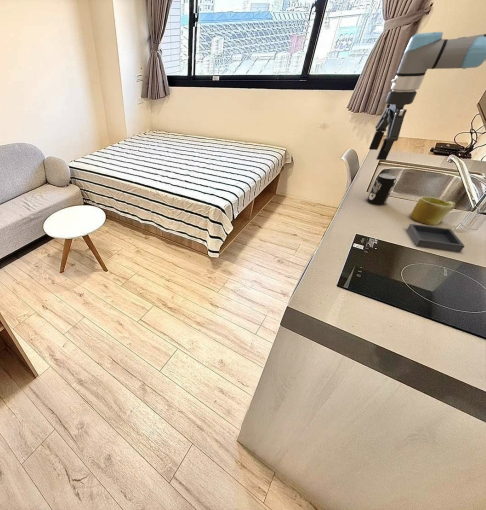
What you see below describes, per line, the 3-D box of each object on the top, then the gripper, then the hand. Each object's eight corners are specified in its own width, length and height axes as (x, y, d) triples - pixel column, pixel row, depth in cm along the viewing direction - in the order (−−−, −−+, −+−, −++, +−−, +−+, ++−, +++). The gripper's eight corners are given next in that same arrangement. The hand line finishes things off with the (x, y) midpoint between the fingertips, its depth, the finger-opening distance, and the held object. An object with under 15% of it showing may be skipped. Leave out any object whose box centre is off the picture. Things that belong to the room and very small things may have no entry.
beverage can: (362, 200, 120) (374, 173, 113) (376, 199, 121) (389, 172, 114) (373, 207, 115) (386, 179, 108) (388, 205, 116) (402, 177, 108)
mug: (420, 223, 99) (435, 196, 96) (399, 218, 109) (412, 193, 106) (456, 231, 99) (472, 203, 95) (432, 225, 108) (445, 200, 105)
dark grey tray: (445, 236, 96) (450, 228, 94) (459, 253, 88) (464, 246, 86) (405, 230, 100) (410, 223, 98) (415, 247, 92) (420, 239, 90)
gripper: (381, 86, 104) (359, 145, 116) (400, 95, 86) (371, 163, 98) (406, 86, 101) (381, 146, 114) (431, 95, 83) (397, 165, 96)
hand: (376, 154), depth 106 cm, fingers open, 13 cm apart
